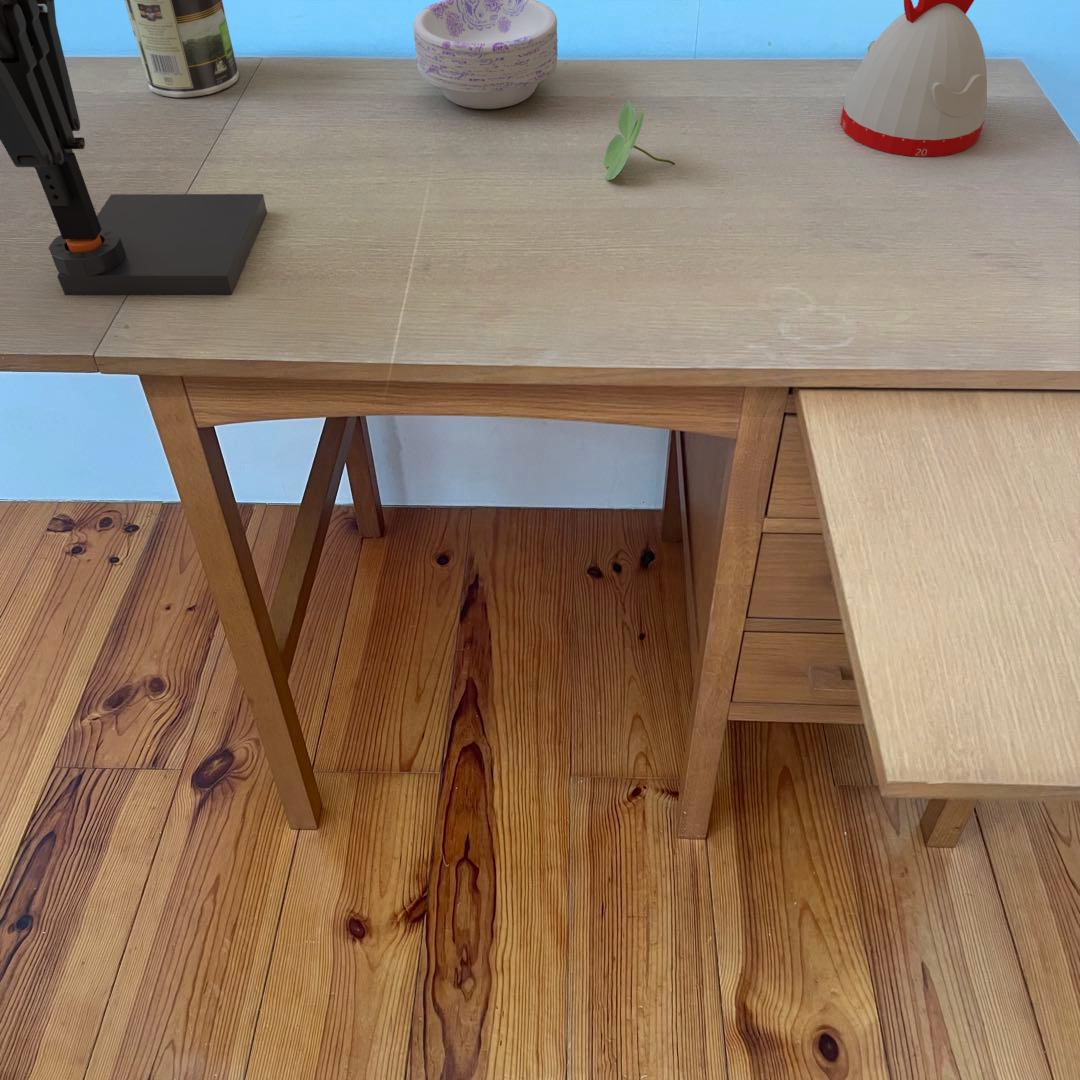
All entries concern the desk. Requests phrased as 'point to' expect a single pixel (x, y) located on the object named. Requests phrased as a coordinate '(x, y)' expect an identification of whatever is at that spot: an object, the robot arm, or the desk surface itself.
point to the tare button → (83, 244)
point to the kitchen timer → (920, 84)
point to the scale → (165, 245)
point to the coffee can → (183, 46)
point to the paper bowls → (486, 49)
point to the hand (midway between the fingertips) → (82, 234)
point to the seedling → (625, 141)
